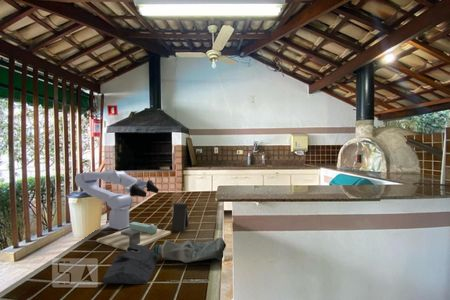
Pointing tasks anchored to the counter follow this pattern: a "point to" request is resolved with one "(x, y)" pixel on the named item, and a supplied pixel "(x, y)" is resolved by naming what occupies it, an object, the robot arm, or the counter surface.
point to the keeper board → (125, 239)
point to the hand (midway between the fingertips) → (152, 192)
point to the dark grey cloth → (132, 266)
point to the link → (143, 227)
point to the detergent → (191, 250)
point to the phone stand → (180, 217)
